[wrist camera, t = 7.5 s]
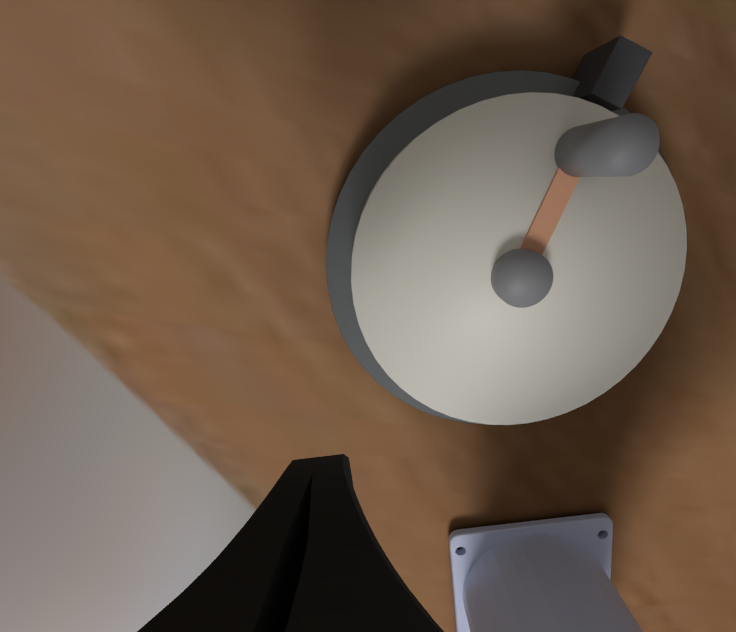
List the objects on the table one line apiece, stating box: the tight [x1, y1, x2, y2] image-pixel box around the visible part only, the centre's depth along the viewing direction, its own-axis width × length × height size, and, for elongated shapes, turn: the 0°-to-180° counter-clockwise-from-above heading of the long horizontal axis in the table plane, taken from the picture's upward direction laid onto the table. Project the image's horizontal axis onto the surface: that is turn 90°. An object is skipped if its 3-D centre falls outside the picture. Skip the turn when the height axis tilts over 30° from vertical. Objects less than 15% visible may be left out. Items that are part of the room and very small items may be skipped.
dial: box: [351, 92, 687, 425], centre depth 16 cm, size 12×12×4 cm
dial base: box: [326, 36, 668, 424], centre depth 18 cm, size 14×14×2 cm
